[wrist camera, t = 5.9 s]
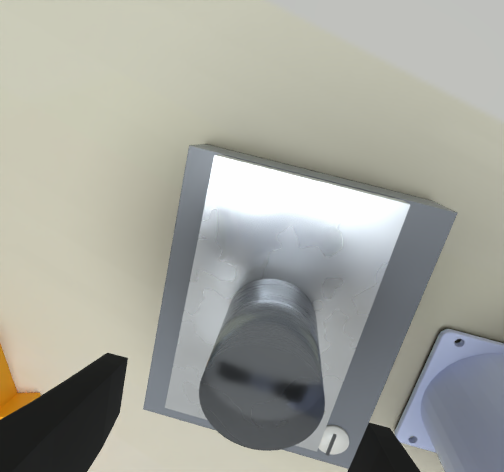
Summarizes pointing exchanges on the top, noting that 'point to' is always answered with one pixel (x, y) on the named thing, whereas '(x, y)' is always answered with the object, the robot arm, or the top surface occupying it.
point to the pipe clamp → (11, 391)
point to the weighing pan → (284, 265)
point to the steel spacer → (265, 369)
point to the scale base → (376, 327)
